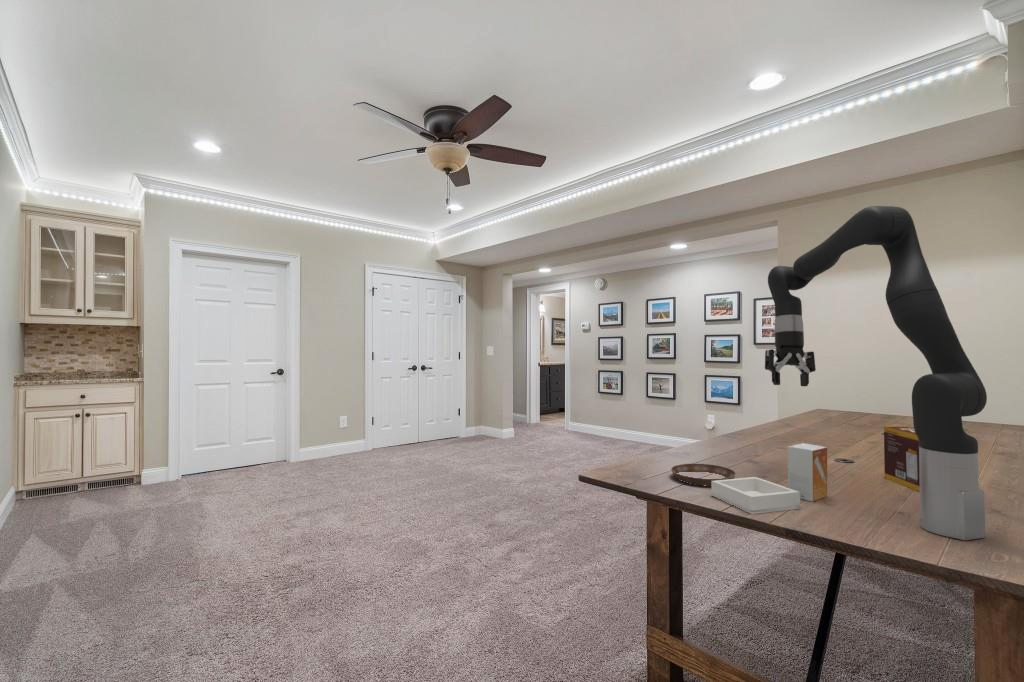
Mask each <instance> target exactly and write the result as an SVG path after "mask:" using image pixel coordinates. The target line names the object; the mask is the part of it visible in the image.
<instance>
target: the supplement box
mask: <svg viewBox="0 0 1024 682" xmlns="http://www.w3.org/2000/svg"><path fill="white" fill-rule="evenodd" d="M883 449H884V450H883V452H884V453H883V455H884V459H883V460H884V462H883V463H884V466H883V467H884V479H887V480H888V481H891V482H893V483H897V484H899V485H901V486H904V487H906V488H909V489H912V490H914V491H915V492H919V493H920V477H919V439H918V437H917V435H916V433H915V430H914V425H913V426H911V425H910V426H909V425H907V426H906V425H905V426H904V425H900V426H899V425H894V426H893V425H884V426H883Z"/></svg>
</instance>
